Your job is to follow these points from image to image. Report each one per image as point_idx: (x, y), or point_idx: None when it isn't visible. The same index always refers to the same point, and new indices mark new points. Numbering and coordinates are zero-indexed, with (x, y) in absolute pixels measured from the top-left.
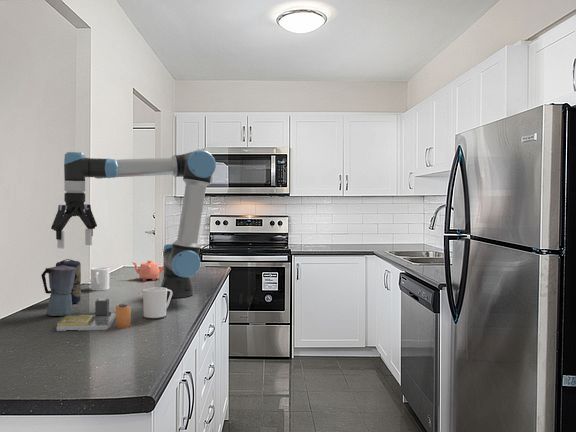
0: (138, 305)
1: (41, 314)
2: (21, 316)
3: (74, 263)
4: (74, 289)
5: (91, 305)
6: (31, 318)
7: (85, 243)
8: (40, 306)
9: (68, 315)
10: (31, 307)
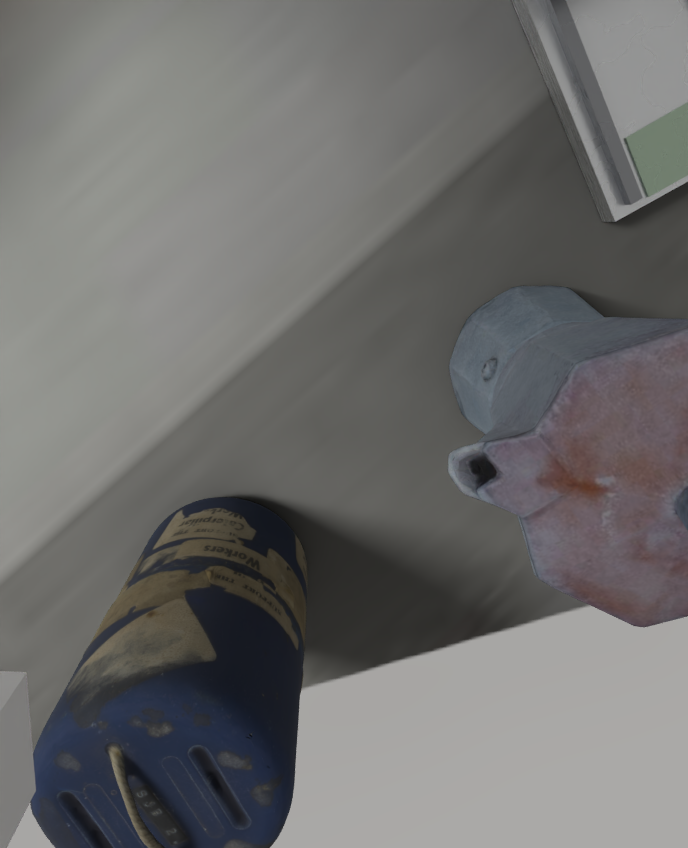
0: (31, 4)
1: None
2: None
3: (178, 706)
4: (236, 541)
5: (221, 365)
6: None
7: (20, 815)
8: (391, 626)
9: (650, 201)
10: (433, 649)
